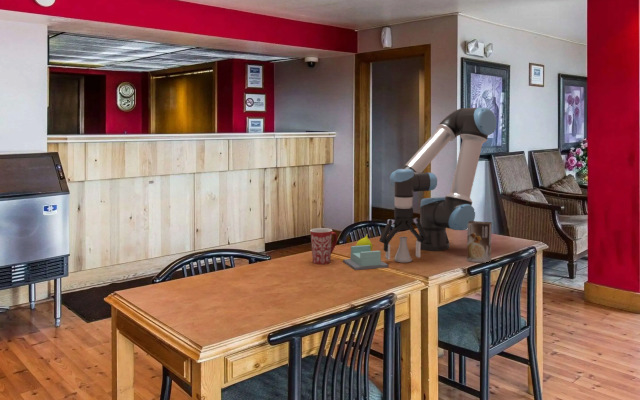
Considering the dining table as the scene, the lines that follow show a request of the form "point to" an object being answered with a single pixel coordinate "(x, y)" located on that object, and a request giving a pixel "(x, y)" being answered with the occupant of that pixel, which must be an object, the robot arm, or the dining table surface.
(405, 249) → the flask
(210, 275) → the dining table surface
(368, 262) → the display stand
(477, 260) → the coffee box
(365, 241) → the ornament
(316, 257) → the mug
